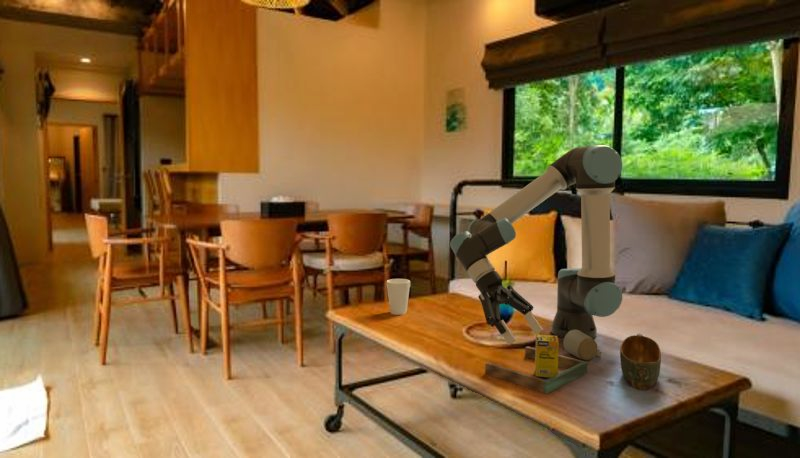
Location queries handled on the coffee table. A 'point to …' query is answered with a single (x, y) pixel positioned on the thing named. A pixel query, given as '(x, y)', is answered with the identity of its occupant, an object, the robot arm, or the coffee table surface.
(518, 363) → the coffee table surface
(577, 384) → the coffee table surface
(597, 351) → the ceramic mug
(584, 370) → the open frame
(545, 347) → the supplement box
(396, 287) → the foam cup
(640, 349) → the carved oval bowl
